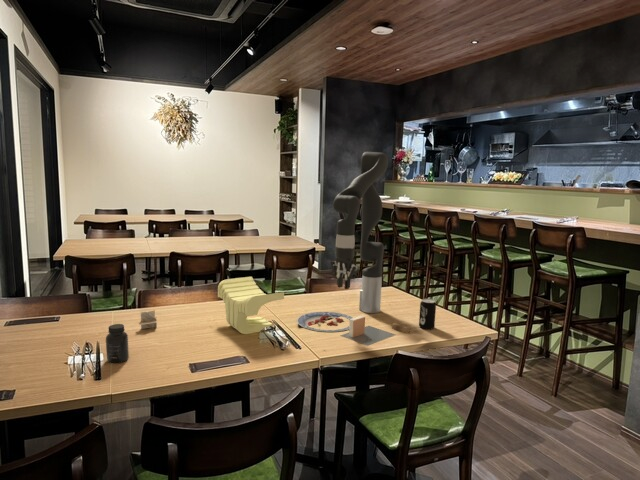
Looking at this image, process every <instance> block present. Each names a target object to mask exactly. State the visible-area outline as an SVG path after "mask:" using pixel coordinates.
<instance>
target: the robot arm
mask: <svg viewBox="0 0 640 480" xmlns="http://www.w3.org/2000/svg"><path fill="white" fill-rule="evenodd" d="M388 165H389V158H388V156H387V154H386V153H384V152H377V151H375V152H374V151H364V152H363V153H362V155H361V159H360V175H358V176H357V177H355V178H354V179H353V180H352V181H351V182H350V184H349V185H348V187H346V188H345V189H343V190H342V191H341V192H339V193H338V194H337V195H336V196H335V198H334V199H333V202H332V207H333V210H334V211H335V212H336V213H339V214H347V217H346V218H342V219H339V220H337V224H336V238H335V251H334V253H335V255H334V256H335V260H334V261H330V267H331V271H332V274H333V276H334V277H336V279H337V280H336V285H337V288H343V287H344V290H349V289H350V288H351V280H355V278H356V276H357V275H358V274H357V273H358V271H359V269H360V266H359V265H356V264H354V263H355V262H354V257H355V243H356V241H355V239H356V238H355V232H356V230H355V228H356V227H355V226H356V222H357V217H358V214H359V212H360V207H361V234H360V235H361V236H360V238H361V239H360V249H359V252H360V253H359V256H360V260H361V261H364V262H371V263H372V262H373V263H375V264H373V265H371V266H369V267H365V268H363V269H362V274H361V275H362V276H361V278H362V279H361V280H362V281H361V289H360V290H359V307H358V308H359V310H360V311H361V312H363V313H366V314H379V313H380V312H381V304H382V303H381V302H382V301H381V300H382V283H383V282H382V279H383V264H384V263H383V262H384V253H385V252H384V251H385V247H384V244H383V242H379V241H377V242H376V241H369V237H370V235H371V233H372V231H373V230H374V228H375V227H376V226H377V224H378V223H379V222H380V220H381V218H382V215H383V213H382V212H383V201H382V198H381V196H380V195H379V193H378V191H377V189H376V187H375V185H374V183H375V182H377V180H378V179H379V178H380V177H382V176H383V174H385V172H386V170H387V168H388ZM360 200H361V201H360ZM343 280H344V281H343ZM343 282H344V283H343ZM343 284H344V286H343Z"/></svg>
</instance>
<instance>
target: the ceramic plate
mask: <svg viewBox="0 0 640 480" xmlns="http://www.w3.org/2000/svg"><path fill="white" fill-rule="evenodd" d="M341 317H342V318H341ZM343 318H344V319H347V320H349V321H350V319H352V318H354V317H352V316H351V315H349V314H345V313H342V312H335V311H334V312H332V311H314V312H309V313H305V314H302V315H300V316H299V317H297V320H296V322H297V324H298V326H300V327H302V328H304V329H307V330H310V331H314V332H321V333H322V332H323V333H337V332H338V333H339V332H344V331H348V330H349V326H350V325H349V326H347V327H344V328H339V329H338V328H337V329H321V328H314V327H310V326H313V325H318V326H319V327H321V325H323V324H324V323H325V324H326V326H327V327H328V326H329V327H333V326H334V327H338V326H339V324H342V323H344V322H345V320H344V319H343ZM330 320H331V321H330Z"/></svg>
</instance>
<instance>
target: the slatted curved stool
mask: <svg viewBox="0 0 640 480" xmlns="http://www.w3.org/2000/svg"><path fill="white" fill-rule="evenodd" d="M217 298H220V299H222V300H223V303H224V304H225V305H224V308H225V314H226V316H225V317H226V322H227V324H228V325H230V326H231V327H232V328H234V329H235V330H237V332H239V334H240V333H241V334H242V335H247V334H255V333H259V332H261V331H260V330H261V329H263V328H265V327H269V326H273V325H274V324H273V323H272V322H269V321H268V320H267V319H266V318H264V317H263V316H257V315H258V313H259V310H260V309H261V307H262V306H264V305H266V304H268V303H271V302H274V301H275V302H277V301H281V300H285V291H283V292H281V291H280V292H276V293H267V294H266V293H264V291H263V290H262V289H260V287H259V285H257V283H256V282H255V280H254V278H253V276H245V277H235V278H227V279H224V280H221V281H220V282H219V284H218V286H217ZM253 316H254V317H253ZM255 316H257V317H255ZM273 327H274V326H273Z"/></svg>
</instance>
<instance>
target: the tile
mask: <svg viewBox="0 0 640 480" xmlns="http://www.w3.org/2000/svg"><path fill="white" fill-rule="evenodd" d="M365 327H366V316H364V315H359V316H356V317H353V318H352V319H350V320H349V331H348V333H349V337H352V338H353V337H356V336H359V335H362V334H364V333H365Z"/></svg>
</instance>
